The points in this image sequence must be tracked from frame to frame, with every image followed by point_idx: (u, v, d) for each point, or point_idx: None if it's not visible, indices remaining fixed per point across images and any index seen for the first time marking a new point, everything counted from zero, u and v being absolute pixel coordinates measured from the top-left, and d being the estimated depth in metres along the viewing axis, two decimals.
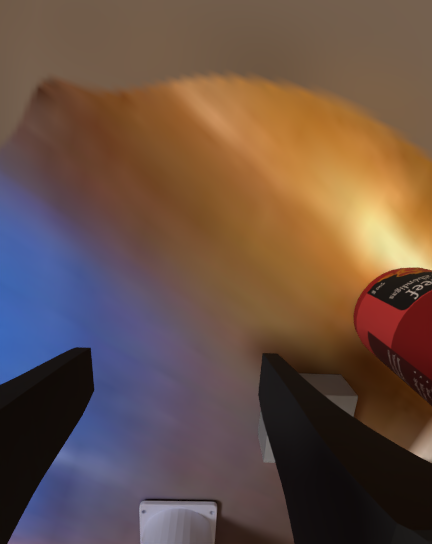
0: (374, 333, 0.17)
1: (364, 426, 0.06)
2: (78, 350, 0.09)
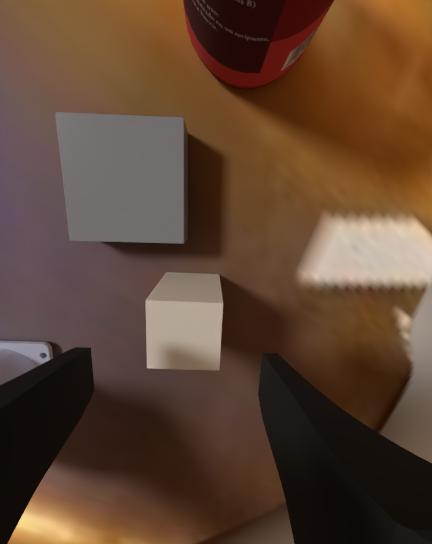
0: None
1: (364, 426, 0.06)
2: (78, 350, 0.09)
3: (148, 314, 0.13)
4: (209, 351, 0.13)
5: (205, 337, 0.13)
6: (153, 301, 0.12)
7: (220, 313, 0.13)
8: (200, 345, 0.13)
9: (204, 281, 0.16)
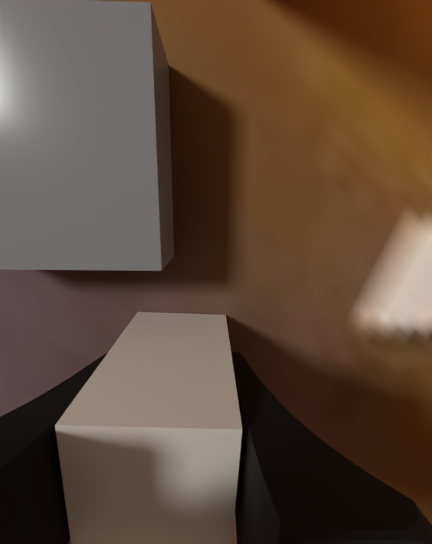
0: None
1: (300, 425, 0.06)
2: None
3: (65, 454, 0.05)
4: (210, 523, 0.06)
5: (200, 497, 0.06)
6: (74, 428, 0.05)
7: (235, 450, 0.05)
8: (190, 511, 0.06)
9: (200, 338, 0.09)
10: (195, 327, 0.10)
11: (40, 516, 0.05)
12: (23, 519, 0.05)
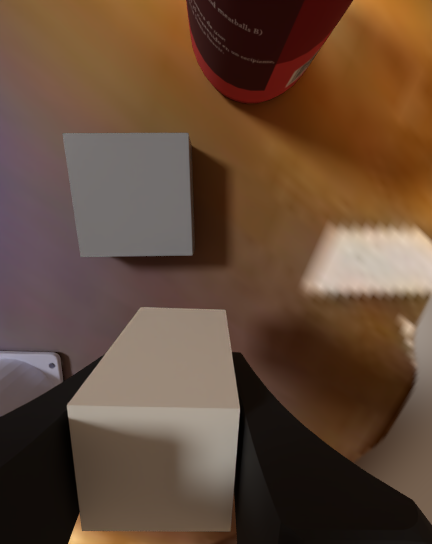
0: None
1: (300, 425, 0.06)
2: None
3: (76, 432, 0.06)
4: (211, 500, 0.06)
5: (201, 474, 0.06)
6: (84, 407, 0.06)
7: (233, 428, 0.06)
8: (192, 488, 0.06)
9: (200, 330, 0.09)
10: (196, 321, 0.10)
11: (40, 516, 0.05)
12: (23, 519, 0.05)
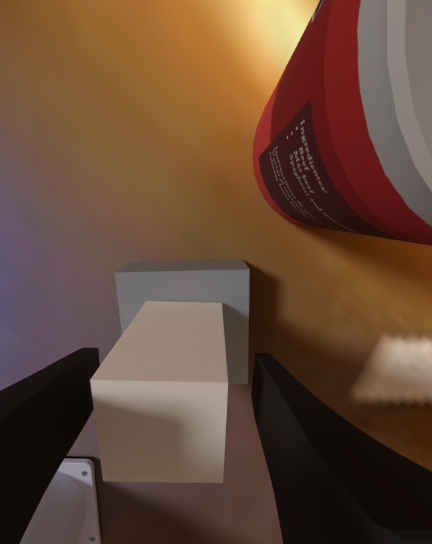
0: (261, 147, 0.11)
1: (351, 426, 0.06)
2: (86, 350, 0.09)
3: (97, 402, 0.07)
4: (206, 457, 0.08)
5: (198, 435, 0.08)
6: (104, 382, 0.07)
7: (223, 398, 0.07)
8: (191, 447, 0.08)
9: (198, 320, 0.11)
10: (195, 312, 0.12)
11: None
12: None
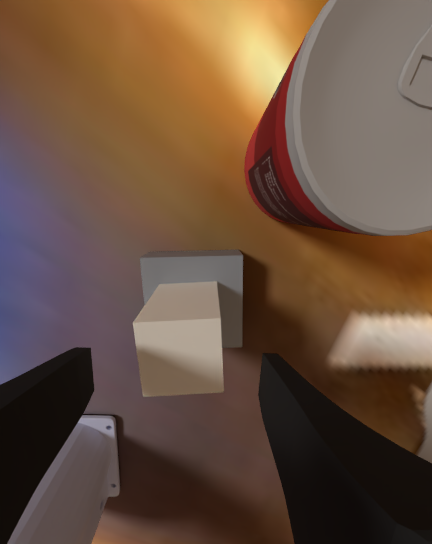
0: (249, 164, 0.14)
1: (364, 426, 0.06)
2: (78, 350, 0.09)
3: (137, 338, 0.11)
4: (211, 372, 0.12)
5: (204, 357, 0.12)
6: (141, 323, 0.11)
7: (218, 329, 0.11)
8: (200, 366, 0.12)
9: (200, 292, 0.15)
10: (197, 288, 0.16)
11: None
12: None
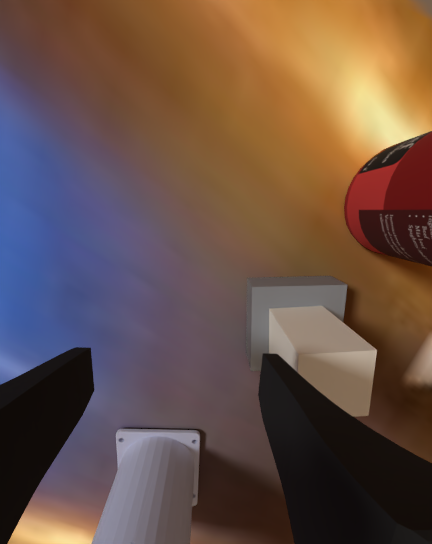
0: (365, 206, 0.16)
1: (364, 426, 0.06)
2: (78, 350, 0.09)
3: (300, 368, 0.12)
4: (360, 398, 0.13)
5: (356, 385, 0.13)
6: (306, 355, 0.12)
7: (373, 360, 0.12)
8: (351, 392, 0.13)
9: (321, 318, 0.16)
10: (312, 313, 0.17)
11: None
12: None
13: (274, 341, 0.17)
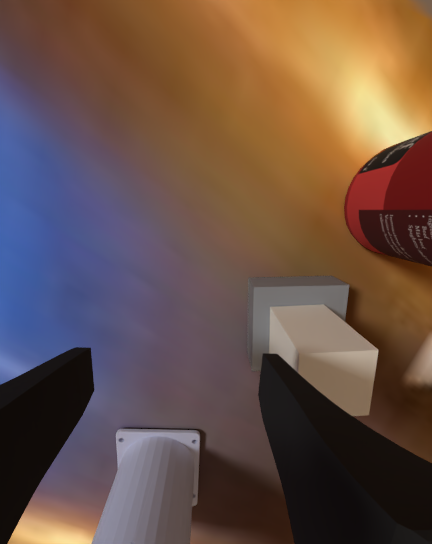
0: (365, 206, 0.16)
1: (364, 426, 0.06)
2: (78, 350, 0.09)
3: (300, 367, 0.12)
4: (360, 398, 0.13)
5: (357, 384, 0.13)
6: (307, 354, 0.12)
7: (374, 360, 0.12)
8: (352, 392, 0.13)
9: (322, 317, 0.16)
10: (313, 312, 0.17)
11: None
12: None
13: (275, 339, 0.17)
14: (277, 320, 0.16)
